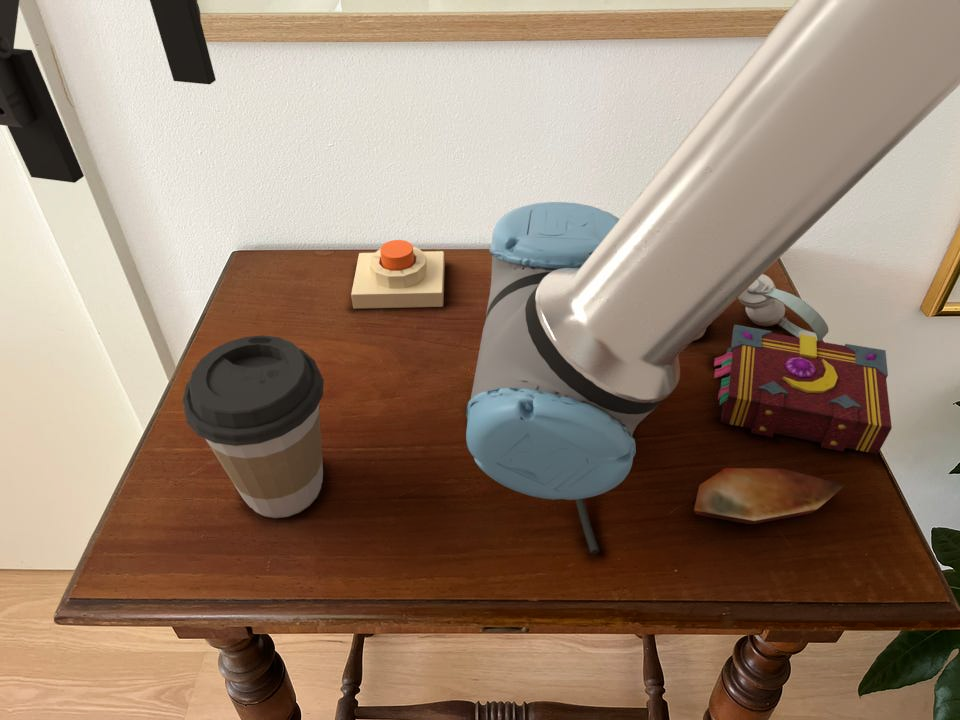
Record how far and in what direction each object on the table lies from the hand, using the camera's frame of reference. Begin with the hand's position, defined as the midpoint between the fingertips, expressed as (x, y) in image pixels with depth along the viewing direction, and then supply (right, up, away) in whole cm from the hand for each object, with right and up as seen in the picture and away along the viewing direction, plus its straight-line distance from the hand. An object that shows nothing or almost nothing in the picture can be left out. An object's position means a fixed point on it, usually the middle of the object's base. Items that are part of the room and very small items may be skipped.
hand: (134, 124), depth 43 cm
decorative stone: (+47, -25, +21) cm, 57 cm away
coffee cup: (+2, -26, +25) cm, 37 cm away
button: (+11, -2, +46) cm, 48 cm away
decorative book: (+53, -19, +33) cm, 65 cm away
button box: (+11, -5, +49) cm, 50 cm away
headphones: (+47, -2, +49) cm, 68 cm away
